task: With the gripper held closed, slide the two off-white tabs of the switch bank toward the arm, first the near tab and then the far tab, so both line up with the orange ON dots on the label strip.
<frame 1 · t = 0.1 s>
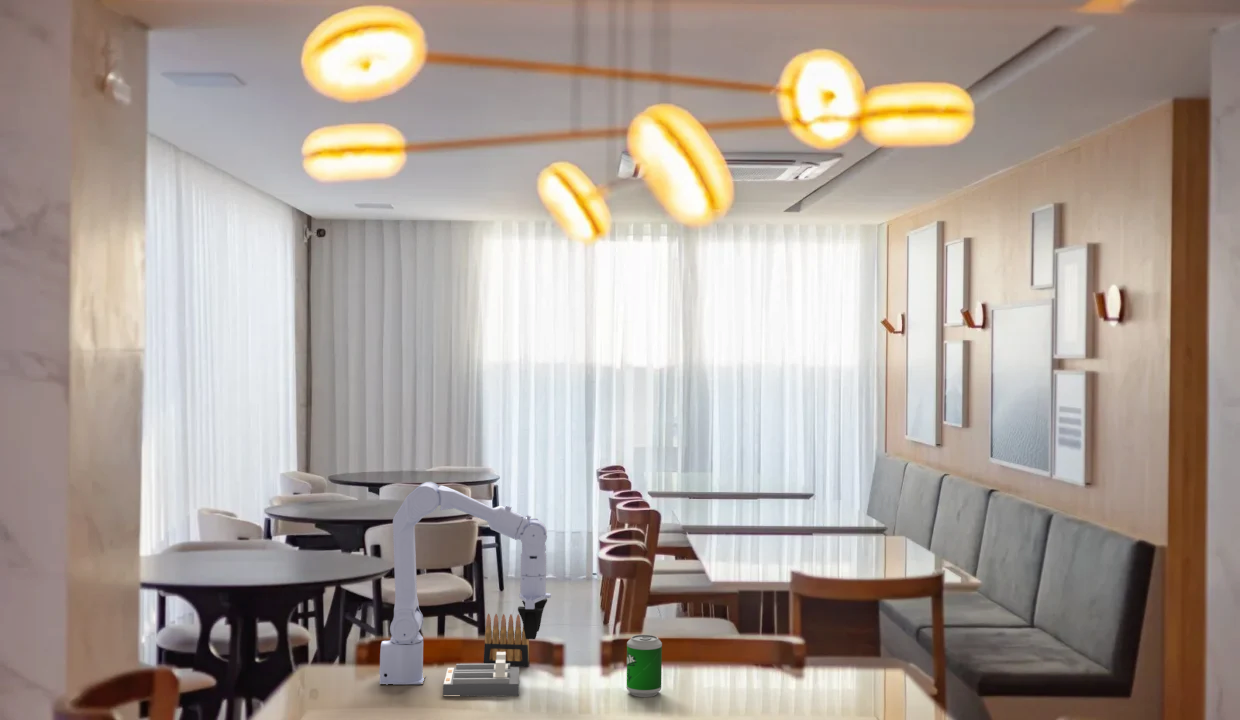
hand: (532, 635, 267), 10 cm above the table, fingers open, 7 cm apart
soda can: (643, 694, 258), on the table
switch bank: (482, 687, 261), on the table
tab near: (500, 669, 258), point 5 cm above the table, slide at 0.0 cm
ammunition clip: (506, 665, 281), on the table
tab far: (501, 661, 265), point 5 cm above the table, slide at 0.0 cm
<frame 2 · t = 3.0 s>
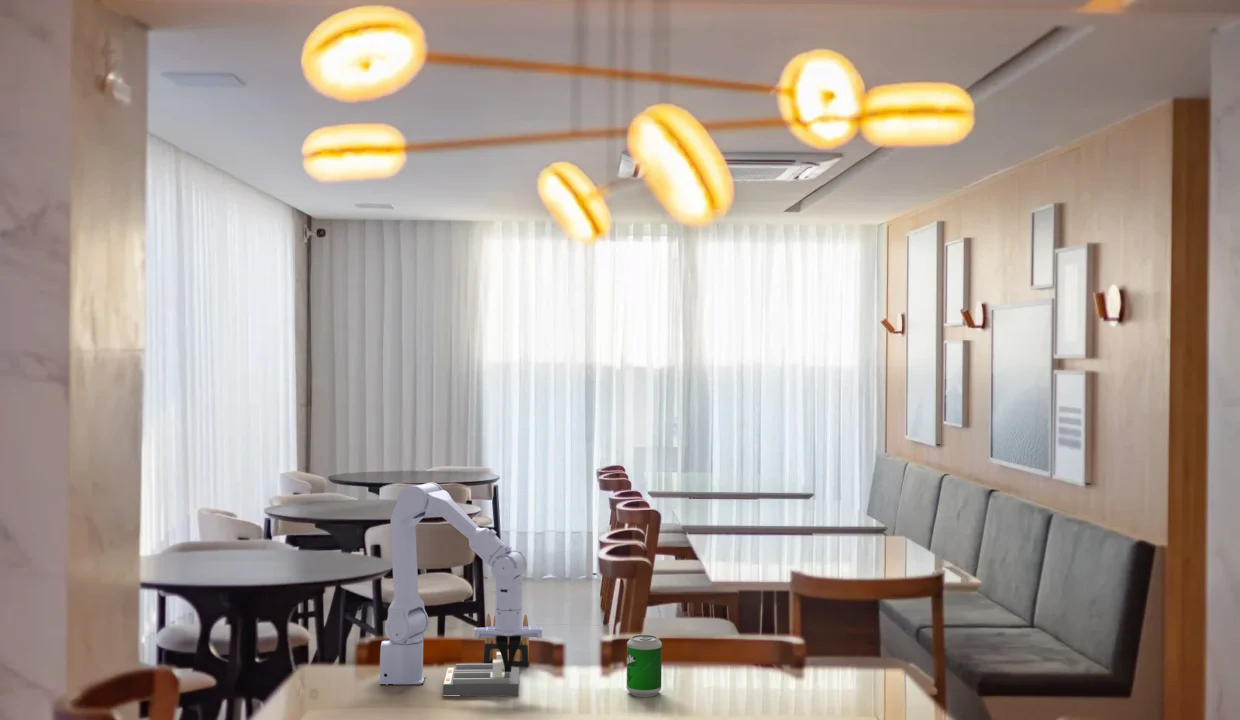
hand: (507, 671, 258), 4 cm above the table, fingers closed
tab near: (497, 669, 258), point 5 cm above the table, slide at 0.6 cm, touching gripper
everything else where it was.
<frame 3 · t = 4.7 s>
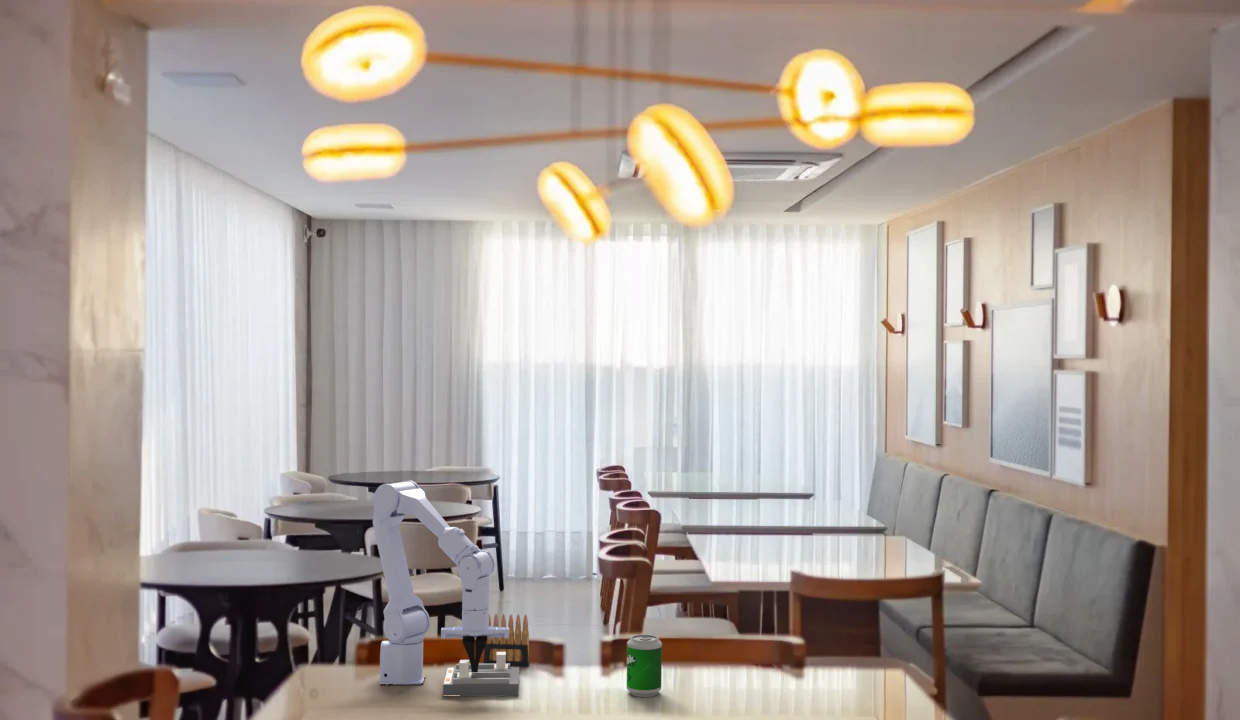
hand: (474, 671, 258), 4 cm above the table, fingers closed
tab near: (464, 670, 257), point 5 cm above the table, slide at 7.7 cm, touching gripper
everything else where it was.
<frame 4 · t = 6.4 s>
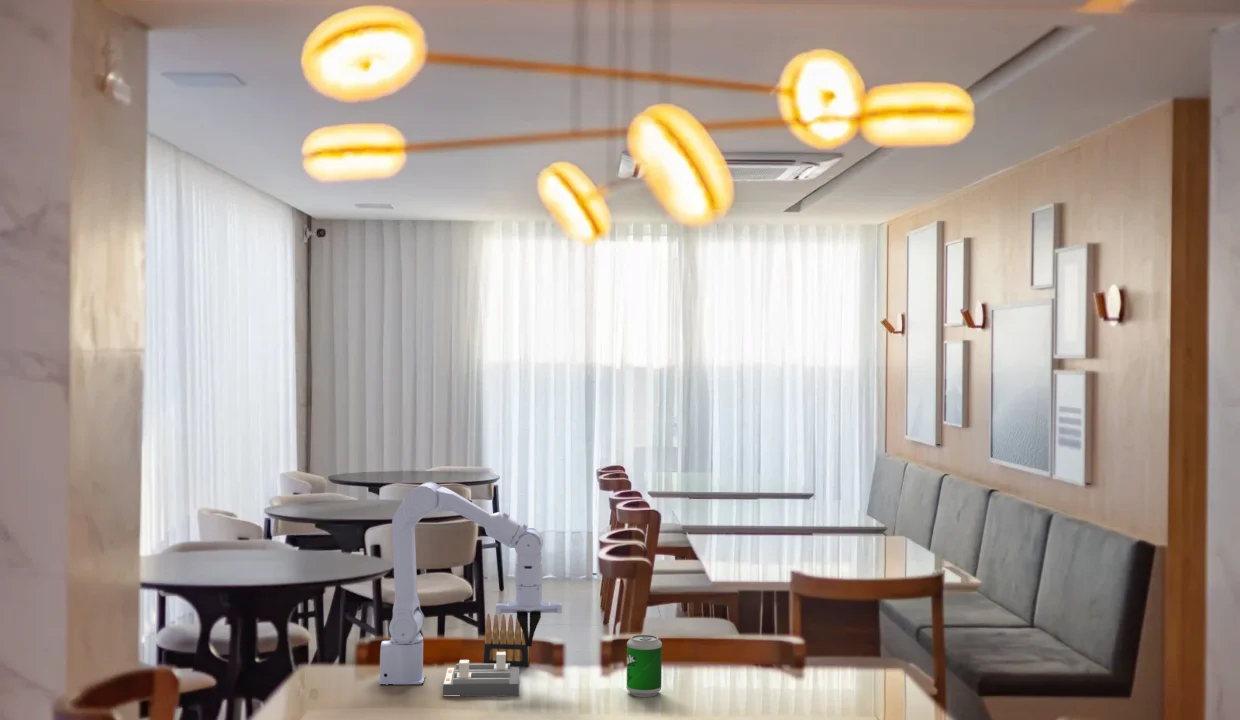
hand: (528, 645, 265), 8 cm above the table, fingers closed
tab near: (464, 670, 257), point 5 cm above the table, slide at 7.8 cm
everything else where it was.
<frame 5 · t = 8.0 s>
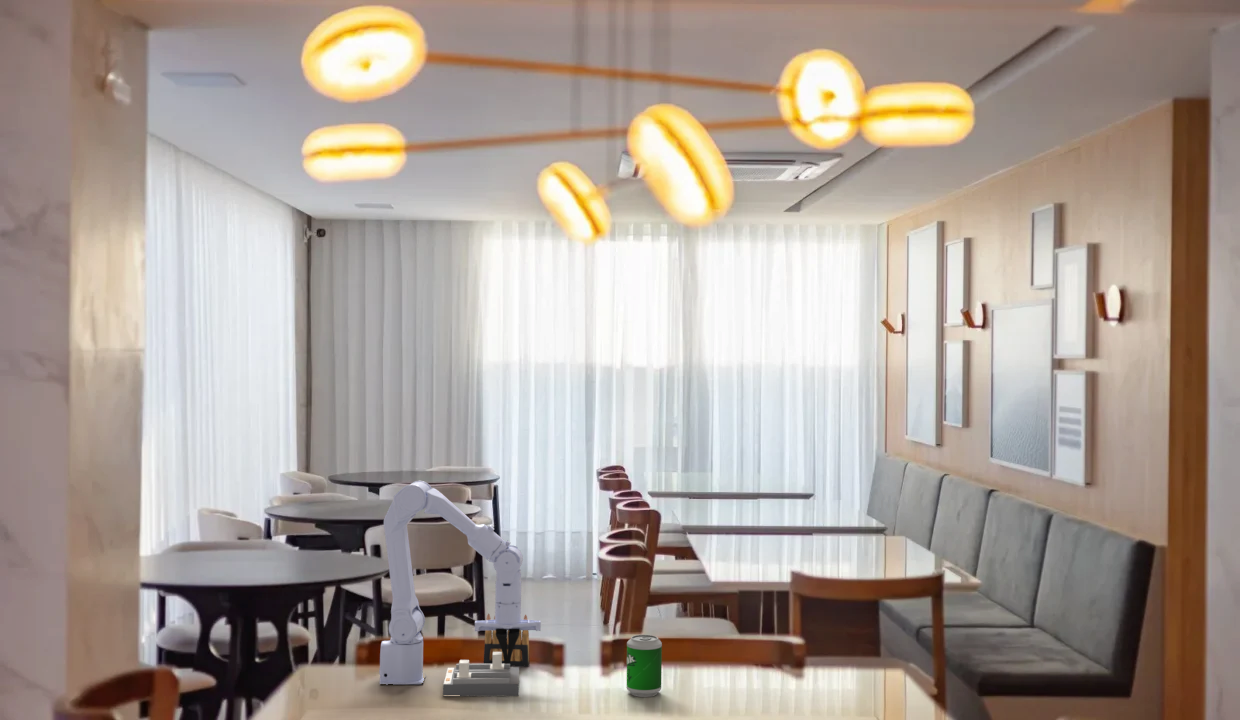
hand: (507, 662, 265), 4 cm above the table, fingers closed
tab far: (497, 661, 265), point 5 cm above the table, slide at 0.9 cm, touching gripper
everything else where it was.
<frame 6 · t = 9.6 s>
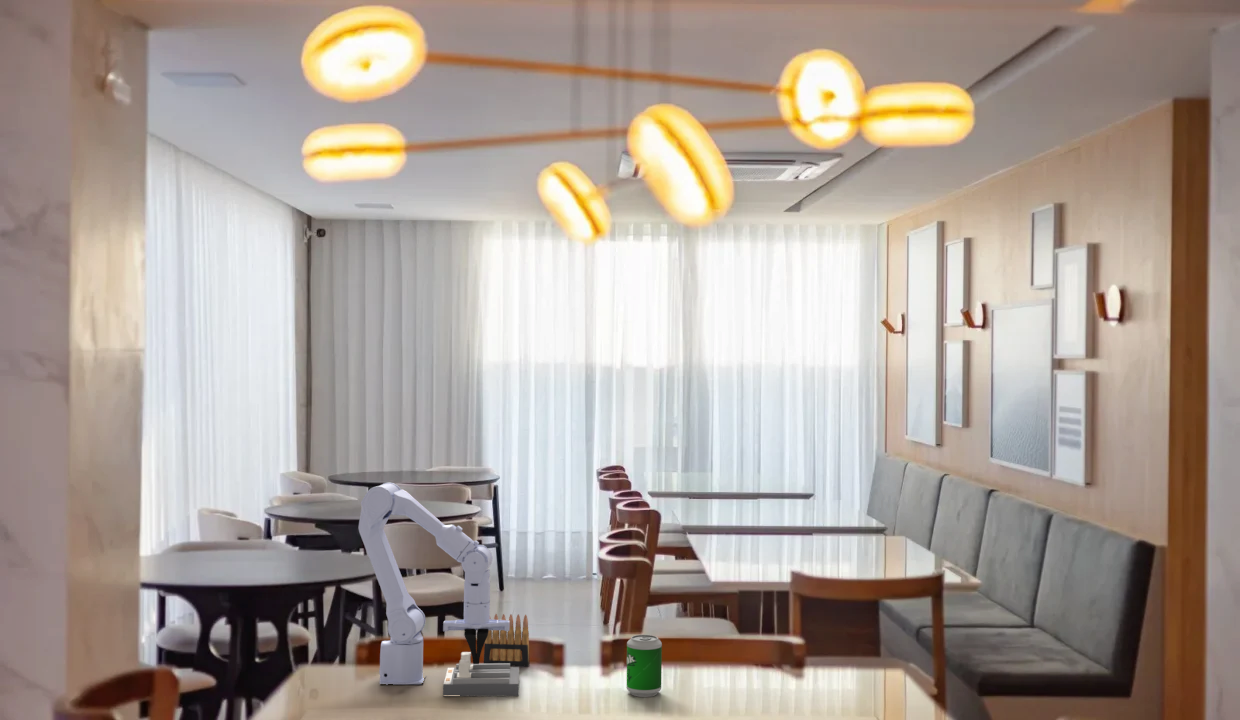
hand: (476, 663, 265), 4 cm above the table, fingers closed
tab far: (465, 661, 264), point 5 cm above the table, slide at 7.7 cm, touching gripper
everything else where it was.
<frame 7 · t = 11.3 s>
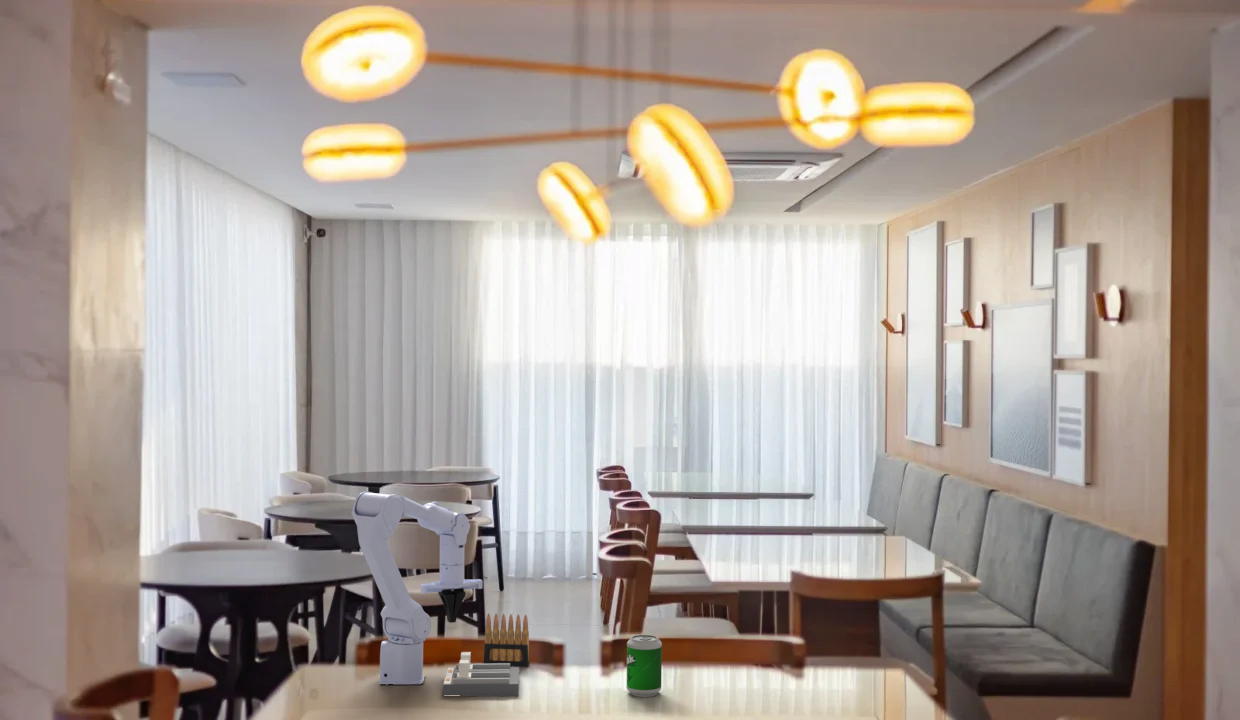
hand: (451, 621, 279), 10 cm above the table, fingers closed
tab far: (465, 661, 264), point 5 cm above the table, slide at 7.8 cm
everything else where it was.
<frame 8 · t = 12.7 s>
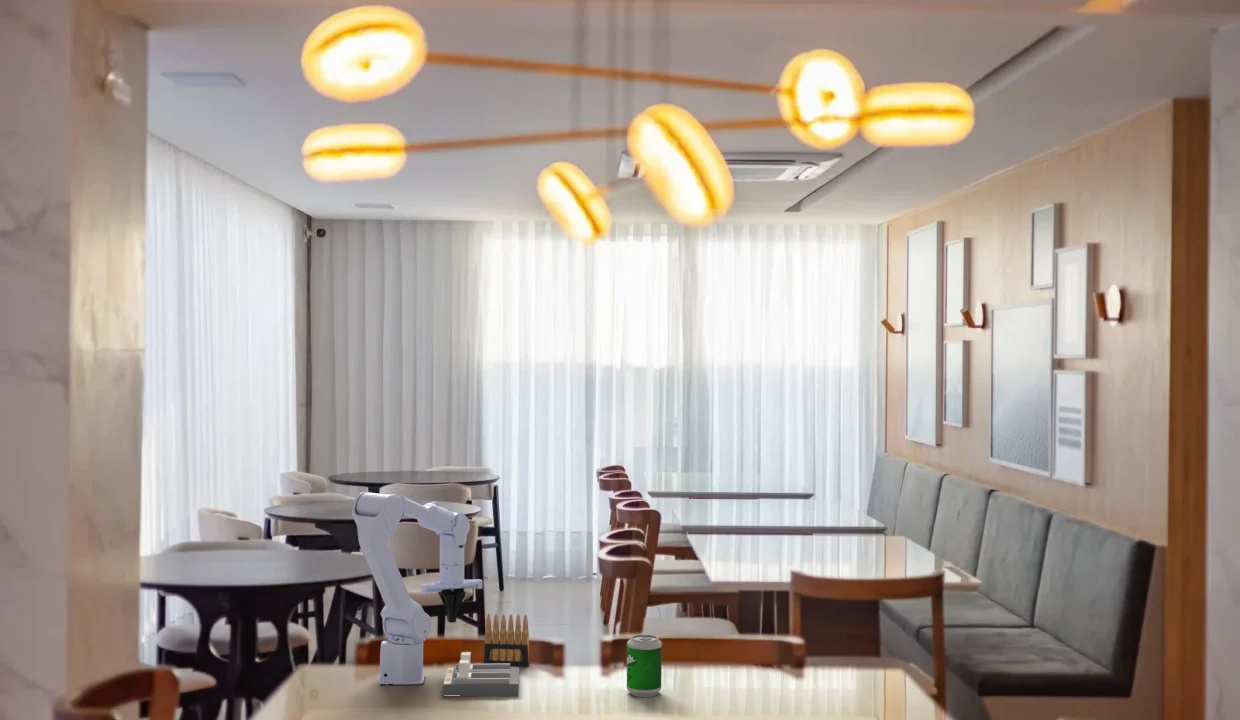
hand: (451, 621, 279), 10 cm above the table, fingers closed
nothing on the table moved.
at the end: tab near slide at 7.8 cm; tab far slide at 7.8 cm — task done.
